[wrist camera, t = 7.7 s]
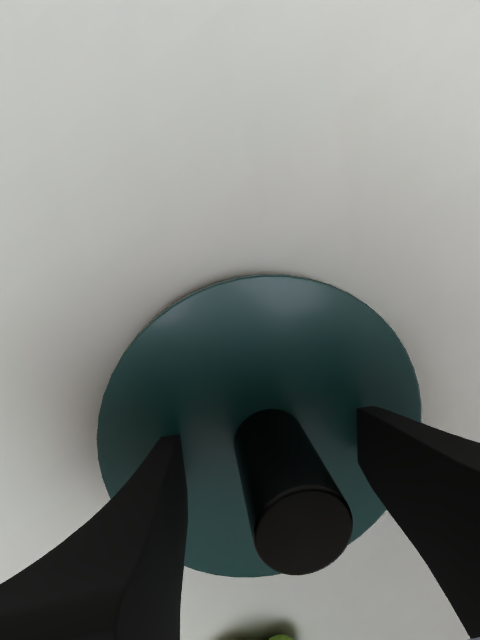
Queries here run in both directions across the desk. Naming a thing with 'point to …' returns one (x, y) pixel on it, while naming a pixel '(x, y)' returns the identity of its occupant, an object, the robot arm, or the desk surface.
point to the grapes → (280, 637)
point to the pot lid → (260, 418)
